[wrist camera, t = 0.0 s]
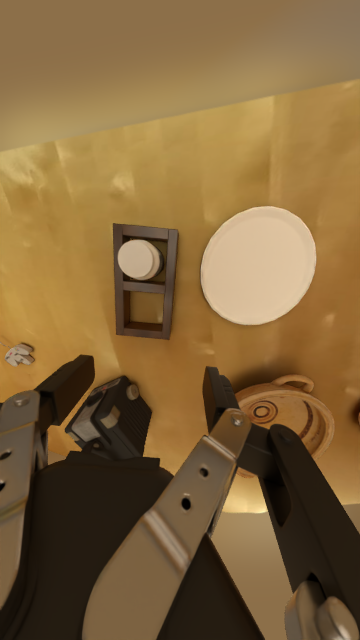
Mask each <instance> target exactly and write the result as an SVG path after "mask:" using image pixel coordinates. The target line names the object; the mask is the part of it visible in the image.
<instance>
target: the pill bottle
mask: <svg viewBox="0 0 360 640" xmlns="http://www.w3.org/2000/svg"><path fill="white" fill-rule="evenodd" d="M118 263H119V266H120V268H121V269H122V271H123V272H124V273H125V274H126V275H128V276H130V277H132V278H134V279H137V280H146V279H149V278H152V277H155V276H157V275H158V274H159V273H160V272H161V271H162V269H163V266H164V258H163V255H162V253H161V252H160V250H159V249H158V248H156V247H155V246H154V245H152V244H151V243H149V242H147V241H145V240H133V241H129V242H126V243H125V244H124V245H122V247H121V248H120V250H119V253H118Z"/></svg>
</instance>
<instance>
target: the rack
mask: <svg viewBox="0 0 360 640" xmlns="http://www.w3.org/2000/svg"><path fill="white" fill-rule="evenodd" d="M178 238H179V233H178V230H175V229H165V228H155V227H145V226H135V225H125V224H115V223H113V244H114V276H115V309H116V335H124V336H134V337H145V338H156V339H168V340H169V339H170V334H171V324H172V312H173V299H174V287H175V275H176V262H177V250H178ZM130 239H140V240H150V241H160V242H168V246H167V262H166V278H165V283H163V282H153V281H143V280H132V279H130V276H128V275H126V274H125V273H124V272H123V271H122V269H121V268H120V266H119V263H118V253H119V250H120V248H121V247H122V245H124V244H125V243H126V242H129V241H130ZM130 291H140V292H150V293H161V294H164V310H163V325H162V324H151V323H140V322H130Z"/></svg>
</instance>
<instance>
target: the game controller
mask: <svg viewBox="0 0 360 640" xmlns="http://www.w3.org/2000/svg"><path fill="white" fill-rule="evenodd" d="M0 343H1V342H0ZM1 344H2V343H1ZM4 346H5V345H4ZM9 348H10V347H9ZM10 349H11V348H10ZM32 351H33V349H32V348H30V347H28V346H26V345H23V344H18V345H16V346H15V347H13V348H12V349H11V350H9V351H8V352H7V354H6V356H5V360H6V361H7V362H8V363H10V364H11V365H13V366H17V365H19V364H20V363H21V362H22V363H24V364H27V365H30V364H31V363H32V362H33V361H34V359H33V358H32V357H31V356H29V355H28V354H29V353H31V352H32Z"/></svg>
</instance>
